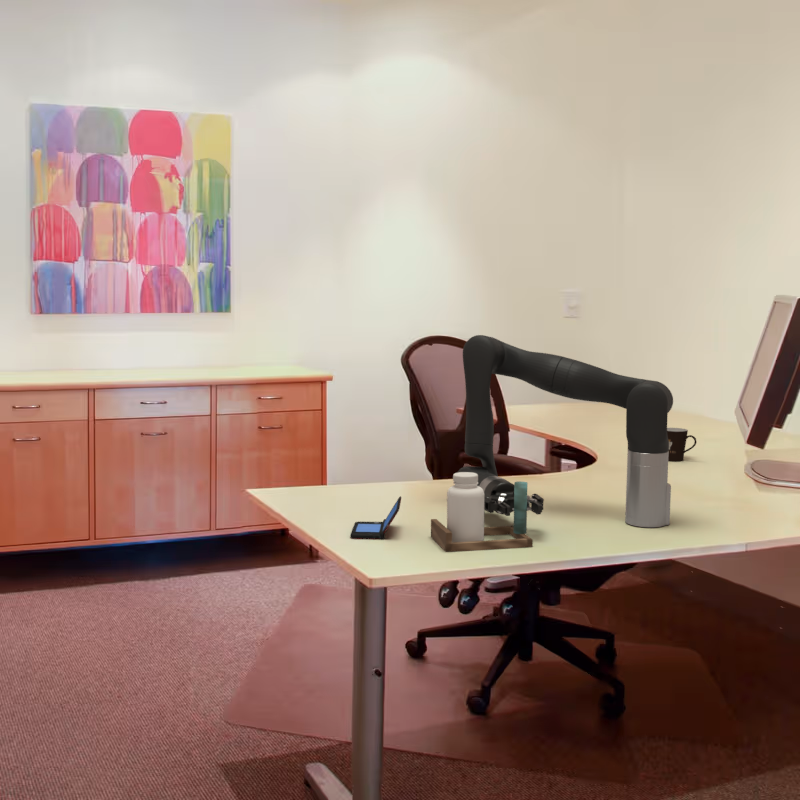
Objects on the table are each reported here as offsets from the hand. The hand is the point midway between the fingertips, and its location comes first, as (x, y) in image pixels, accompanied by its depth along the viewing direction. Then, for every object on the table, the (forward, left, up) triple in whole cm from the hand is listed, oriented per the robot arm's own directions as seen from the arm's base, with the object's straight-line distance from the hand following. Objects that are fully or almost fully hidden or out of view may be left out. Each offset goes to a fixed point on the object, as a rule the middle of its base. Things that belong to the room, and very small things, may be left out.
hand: (524, 510), depth 202 cm
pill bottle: (+12, -2, -7) cm, 15 cm away
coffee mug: (-84, -85, -7) cm, 120 cm away
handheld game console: (+29, -15, -8) cm, 34 cm away
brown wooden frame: (+9, -2, -7) cm, 12 cm away
